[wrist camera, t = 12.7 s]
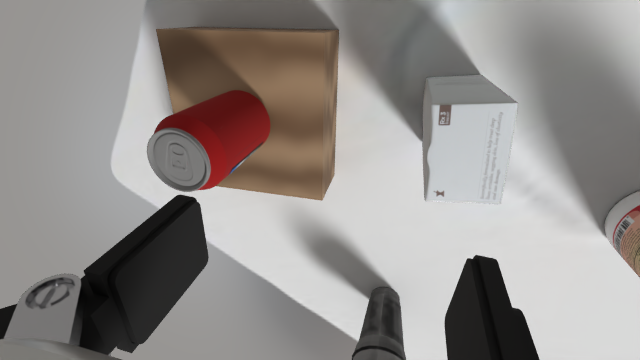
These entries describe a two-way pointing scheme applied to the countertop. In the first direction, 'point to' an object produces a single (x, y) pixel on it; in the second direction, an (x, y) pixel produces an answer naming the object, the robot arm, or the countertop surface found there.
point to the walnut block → (265, 97)
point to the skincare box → (466, 139)
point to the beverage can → (208, 140)
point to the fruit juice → (626, 230)
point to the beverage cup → (381, 328)
